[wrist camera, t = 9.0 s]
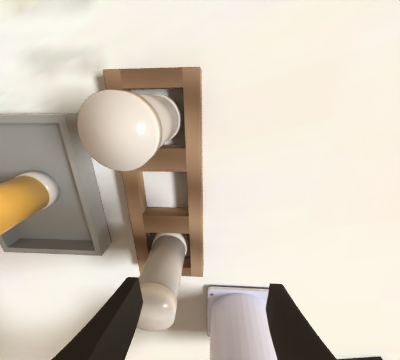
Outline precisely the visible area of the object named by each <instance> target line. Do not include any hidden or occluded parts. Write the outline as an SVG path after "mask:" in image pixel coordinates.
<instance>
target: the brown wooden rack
mask: <svg viewBox="0 0 400 360" xmlns="http://www.w3.org/2000/svg"><path fill="white" fill-rule="evenodd" d="M103 73H104V79H105V84H106V90H119V91H128V92H131V90H132V89H182V88H183V97H184V120H185V143H186V145H162V146H161V147H160V148H159V149H158V151H157V152H156V153H155V155H154V156H153V157H151V158H150V159H149V160H148V161H147V162H146V163H145V164H144V165H142V166H141V167H139V168H137V169H134V170H130V171H121V172H122V177H123V182H124V188H125V193H126V199H127V204H128V210H129V215H130V221H131V226H132V232H133V237H134V243H135V248H136V253H137V259H138V264H139V270H140V274H141V272H142V269H143V267H144V265H145V262H146V260H147V257H148V255H149V253H150V250H151V248H152V239H151V233H182V234H190V257H185V258H184V263H183V269H182V274H181V276H195V277H203V183H202V88H201V68H200V67H178V68H142V69H105V70H103ZM142 171H168V172H187V188H188V208H158V207H147V203H146V196H145V188H144V181H143V174H142Z"/></svg>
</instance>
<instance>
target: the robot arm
mask: <svg viewBox="0 0 400 360" xmlns="http://www.w3.org/2000/svg"><path fill="white" fill-rule="evenodd" d="M142 305H143V299H142V293H141V288H140V283H139V278H136V277H128V278H126V280H125V281H124V282H123V283H122V284H121V286H120V287H119V288H118V289H117V290H116V292H115V293H114V294H113V295H112V296H111V298H110V299H109V300H108V301H107V302H106V304H105V305H104V306H103V307H102V308H101V309H100V310H99V311H98V313H97V314H96V315H95V316H94V317H93V318H92V319H91V320H90V321H89V323H88V324H87V325H86V326H85V327H84V328H83V329H82V330H81V331H80V332H79V333H78V334H77V335H76V336H75V337H74V338H73V339H72V340H71V341H70V342H69V343H68V344H67V345H66V346H65V347H64V348H63V349H62V350H61V351H60V352H59V353H58V354H57V355H56V356H55V357H54V358H53V359H52V360H125V357H126V354H127V352H128V349H129V346H130V343H131V341H132V338H133V335H134V333H135V330H136V327H137V324H138V321H139V317H140V313H141V309H142ZM207 335H208V336H209V337H210V360H337V359H336V358H335V357H334V355H333V354H332V353H331V352H330V350H329V349H328V348H327V347H326V345H325V344H324V343H323V342H322V340H321V339H320V338H319V336H318V335H317V334H316V332H315V331H314V330H313V328H312V327H311V326H310V324H309V323H308V321H307V320H306V319H305V317H304V316H303V314H302V313H301V312H300V310H299V309H298V307H297V306H296V304H295V303H294V301H293V300H292V298H291V297H290V295H289V294H288V292H287V291H286V289H285V288H284V286H283V285H282V284H270V286H269V289H256V288H235V287H214V286H211V287H208V309H207Z"/></svg>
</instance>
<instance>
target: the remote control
mask: <svg viewBox="0 0 400 360" xmlns="http://www.w3.org/2000/svg"><path fill="white" fill-rule="evenodd" d="M339 360H382V358H381V357H368V358H353V359H339Z"/></svg>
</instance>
